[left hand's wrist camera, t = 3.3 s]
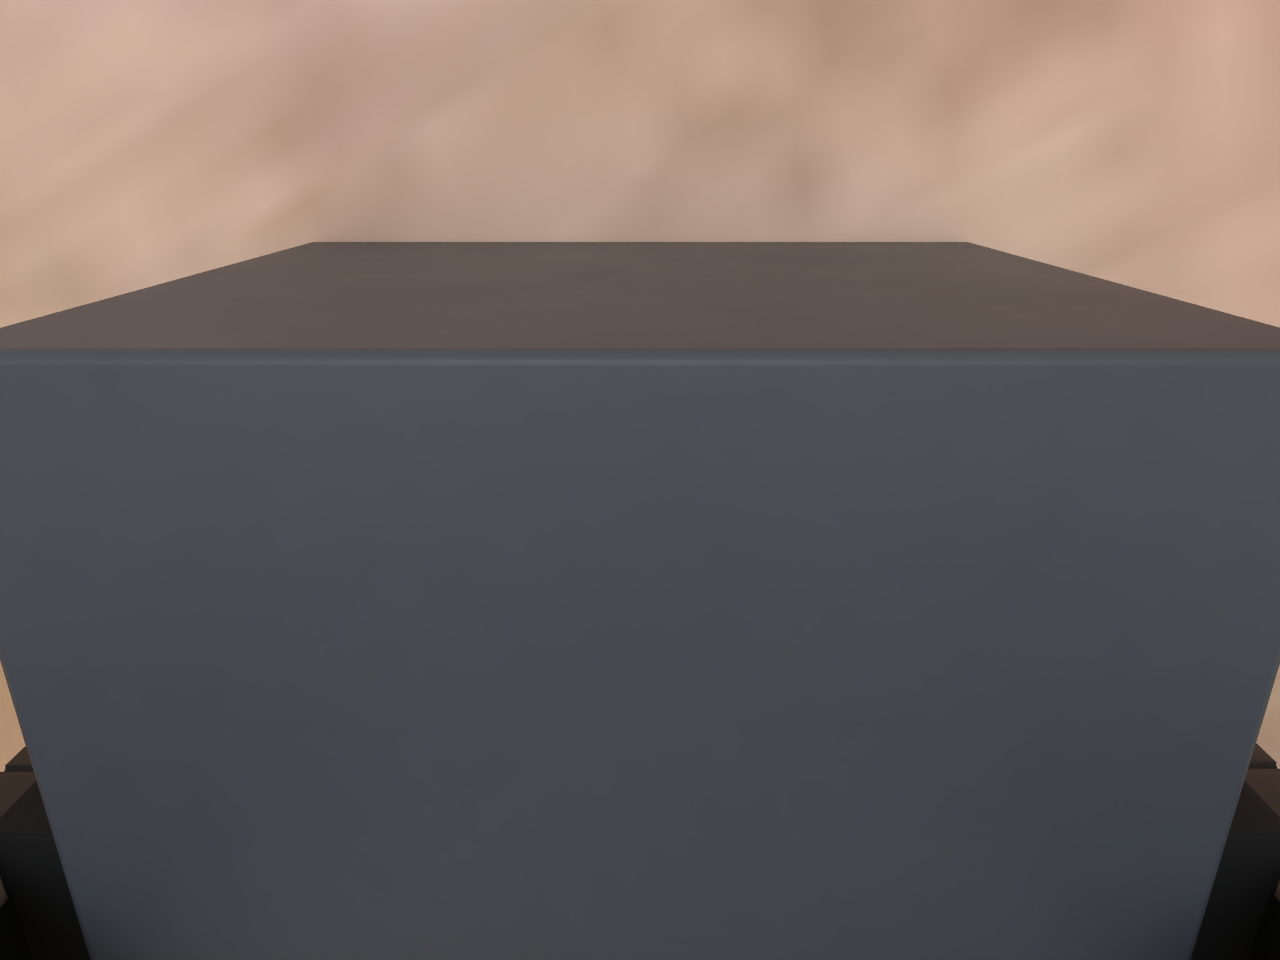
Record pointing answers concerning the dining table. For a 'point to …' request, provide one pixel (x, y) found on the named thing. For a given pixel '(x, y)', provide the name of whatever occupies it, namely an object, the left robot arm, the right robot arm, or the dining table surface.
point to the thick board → (640, 603)
